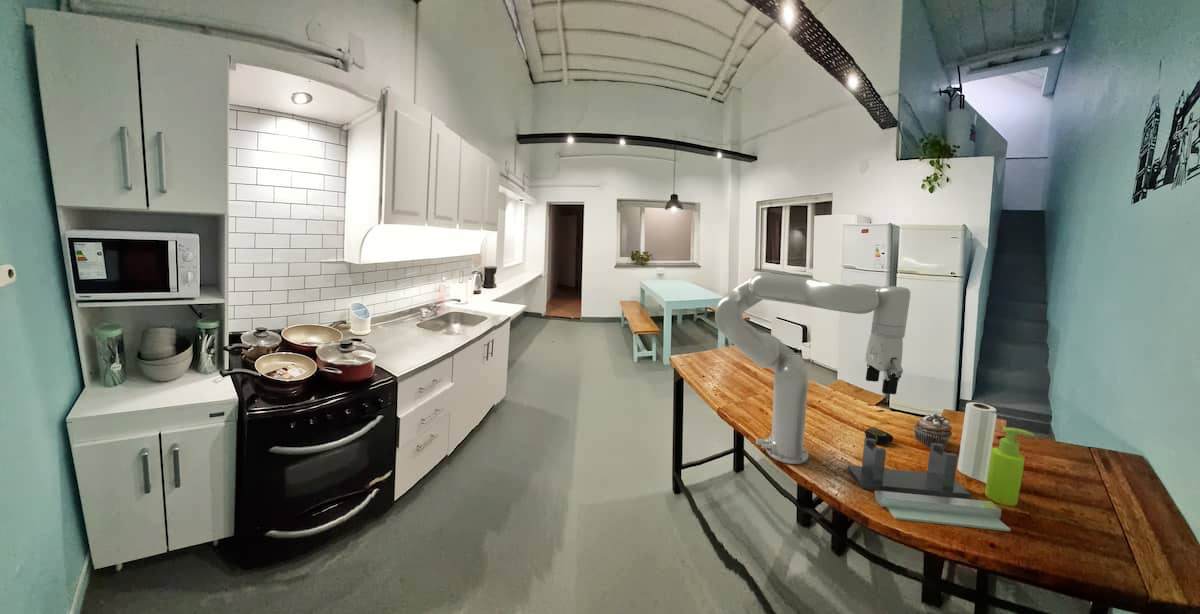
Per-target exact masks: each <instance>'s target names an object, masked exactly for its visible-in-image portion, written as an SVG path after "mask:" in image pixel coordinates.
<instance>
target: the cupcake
mask: <svg viewBox="0 0 1200 614" xmlns="http://www.w3.org/2000/svg"><path fill="white" fill-rule="evenodd" d="M913 430H914V438H915V441H916V442H917V443H918V442H919V443H921V444H923V445H922V446H924V445H925V446H924V447H927V448H930V447H931V443H940V444H942V445H944V449H946V448H947V445H948V443H949V440H950V439H951V437H952V434H953V433H952V426H951V425H950V421H949V419H948V418H946V417H943V416H939V415H938V414H937V413H933V414H927V415H926V416H924V417H922V418H920V419H919V420H917V423H915V424H914V425H913ZM919 443H918V444H919ZM921 444H920V445H921Z"/></svg>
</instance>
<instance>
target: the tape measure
mask: <svg viewBox="0 0 1200 614" xmlns="http://www.w3.org/2000/svg"><path fill="white" fill-rule="evenodd" d="M864 435H865V438H870V439H875V440H876V443H877V444H876V445H888V444H889V443H892V442H893V441H894V437H893V435H891V434H890V433H888V432H886V431H884V430H882V429H879V428H878V427H875V426H873V427H868V428H867V429H866V430H865V431H864Z"/></svg>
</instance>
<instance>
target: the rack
mask: <svg viewBox="0 0 1200 614" xmlns="http://www.w3.org/2000/svg"><path fill="white" fill-rule="evenodd" d="M929 449H930V450H929V456H928V457H929V458H928V464H927V471H920V470H919V471H916V470H906V469H905V470H904V469H892V468H891V469H890V468H885V466H886V465H885V464H886V456H887V455H886V454H887V449H885V448H883V447H879V446H877V444H876V440H875V439H870V438H866V437H865V438H864V440H863V449H862V450H863V451H862V452H863V453H862V459H861V460H862V461H861V466H859V465H858V466H857V465H847V469H846V470H847V471H848V473H849V474H850V476H851V477H852V478H853V480H854V481H855V483H857V485H858V486H859V487H860V488H861V490H862V489H863V490H871V491H872V490H873V491H876V490H877V491H887V492H898V493H908V494H913V493H914V494H918V495H929V496H939V497H950V498H960V499H971V496H972V493H970V492H969V491H968V490H967V489H965V488H964V487H963V486H962V485H961V484H960V483H959V482H957V481H956V479H955V478H956V473H957V472H956V471H957V467H958V460H959V455H957V454H956V453H955V452H954V453H953V452H946V451H944V449H945V448H944V445H942V444H940V443H931V447H929Z"/></svg>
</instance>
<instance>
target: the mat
mask: <svg viewBox="0 0 1200 614" xmlns="http://www.w3.org/2000/svg"><path fill="white" fill-rule="evenodd" d="M875 493H876V490H874V494H875ZM885 508H886V510H888V511H887V512H889V513H890V514H891V516H892V517H893V518H894V519H895V520H901V521H908V522H909V521H910V522H911V521H912V522H918V523H919V522H921V523H929V524H937V525H947V526H954V527H955V526H958V527H964V528H965V527H966V528H973V529H975V528H976V529H984V530H994V531H1003V532H1011V530H1012V529H1011V528H1010V527H1009V526H1007V525H1006V524H1005V523H1004V522H1003V521H1002V520H1001V519H997V518H988V517H978V516H968V515H959V514H949V513H939V512H930V511H920V510H910V509H900V508H891V507H885Z"/></svg>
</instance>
